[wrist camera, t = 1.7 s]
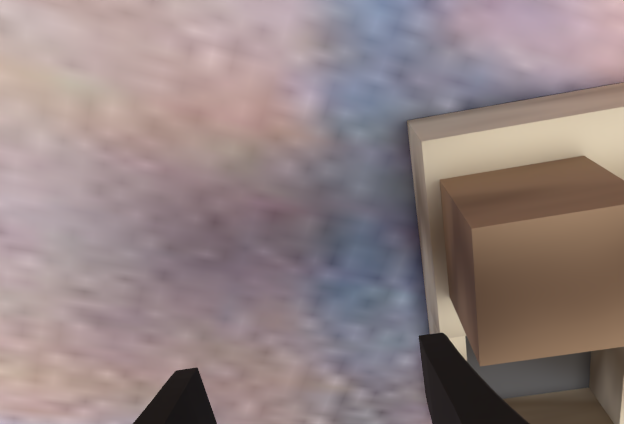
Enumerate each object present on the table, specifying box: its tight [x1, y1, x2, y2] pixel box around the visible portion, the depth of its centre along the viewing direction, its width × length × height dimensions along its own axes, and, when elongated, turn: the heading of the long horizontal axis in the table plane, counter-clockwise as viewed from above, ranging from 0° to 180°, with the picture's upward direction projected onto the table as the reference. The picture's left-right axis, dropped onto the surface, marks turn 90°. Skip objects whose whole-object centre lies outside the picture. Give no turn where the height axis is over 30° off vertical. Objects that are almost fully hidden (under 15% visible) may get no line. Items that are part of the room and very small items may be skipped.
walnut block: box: [440, 156, 624, 366], centre depth 17 cm, size 5×5×4 cm
